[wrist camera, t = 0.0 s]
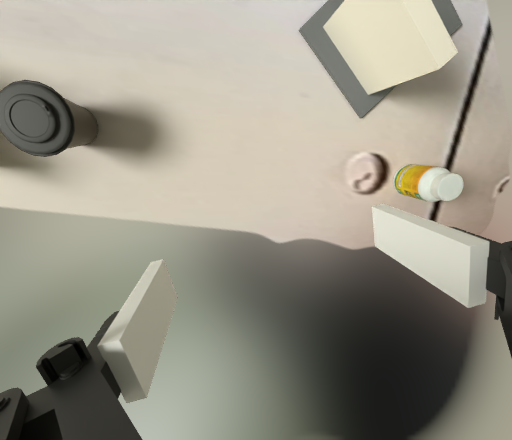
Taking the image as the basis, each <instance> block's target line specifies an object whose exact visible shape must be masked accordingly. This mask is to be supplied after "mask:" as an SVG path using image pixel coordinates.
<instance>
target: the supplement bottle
mask: <svg viewBox="0 0 512 440" xmlns="http://www.w3.org/2000/svg"><path fill="white" fill-rule="evenodd" d="M393 185H394V188H395V190H396V191H397V192H398V193H400V194H403V195H407V196H410V197H414V198H418V199H421V200H425V201H430V202H435V201H439V200H443V201H451V200H454V199H455V198H457V197H458V196H459V195H460V193H461V192H462V189H463V179H462V177H461V176H460V175H458V174H454V173H450V172H449V171H448V170H447V169H445V168H442V167H432V166H421V165H405V166H403V167H401V168H400V169H399V170H398V171H397V172H396V174H395V176H394V178H393Z"/></svg>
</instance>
